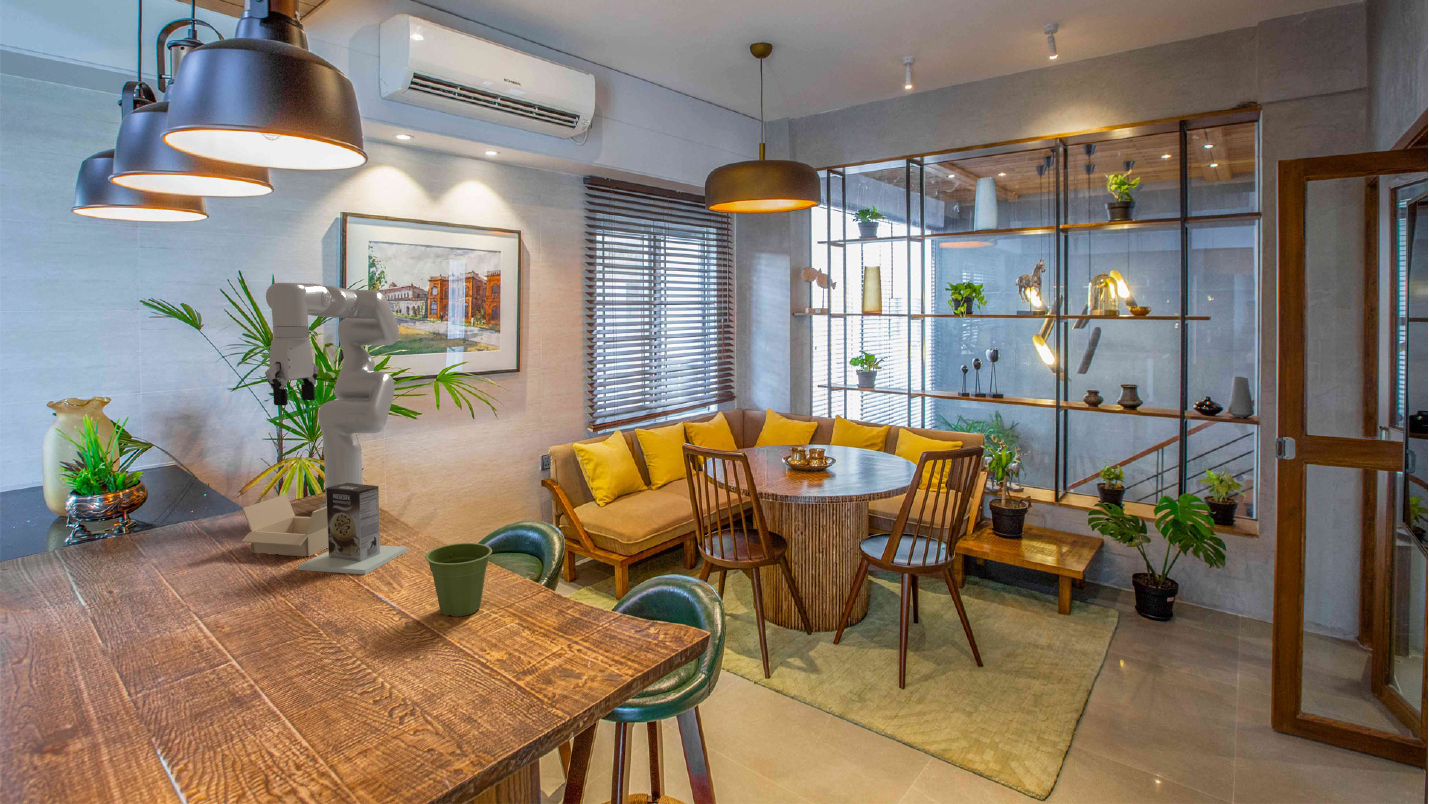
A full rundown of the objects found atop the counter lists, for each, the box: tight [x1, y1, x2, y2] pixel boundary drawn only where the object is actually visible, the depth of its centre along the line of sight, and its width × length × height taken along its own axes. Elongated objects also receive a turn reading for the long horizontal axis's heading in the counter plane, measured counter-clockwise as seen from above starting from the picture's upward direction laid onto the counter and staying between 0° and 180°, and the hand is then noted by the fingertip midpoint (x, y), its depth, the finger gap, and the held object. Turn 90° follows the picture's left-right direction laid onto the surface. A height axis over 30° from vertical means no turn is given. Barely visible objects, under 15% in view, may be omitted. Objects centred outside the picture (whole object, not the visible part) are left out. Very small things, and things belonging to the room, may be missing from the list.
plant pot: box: [424, 542, 493, 618], centre depth 131 cm, size 12×12×11 cm
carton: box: [241, 493, 329, 557], centre depth 167 cm, size 19×18×11 cm
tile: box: [297, 544, 409, 576], centre depth 158 cm, size 16×16×1 cm
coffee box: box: [325, 483, 381, 561], centre depth 158 cm, size 9×6×16 cm
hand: (295, 402), depth 173 cm, fingers open, 9 cm apart
